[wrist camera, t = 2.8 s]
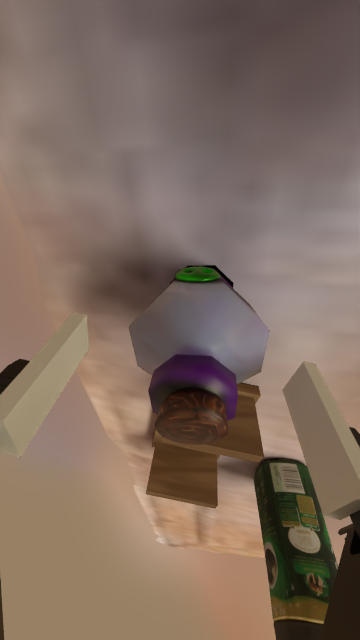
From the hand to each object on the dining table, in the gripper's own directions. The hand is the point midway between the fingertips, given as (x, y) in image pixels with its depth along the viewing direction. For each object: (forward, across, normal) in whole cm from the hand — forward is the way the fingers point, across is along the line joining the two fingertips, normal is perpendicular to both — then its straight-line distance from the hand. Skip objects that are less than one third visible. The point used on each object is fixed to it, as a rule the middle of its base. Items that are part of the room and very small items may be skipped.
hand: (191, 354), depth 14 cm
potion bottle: (+7, 0, 0) cm, 7 cm away
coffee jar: (+7, +20, -28) cm, 35 cm away
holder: (+7, +4, -18) cm, 19 cm away
